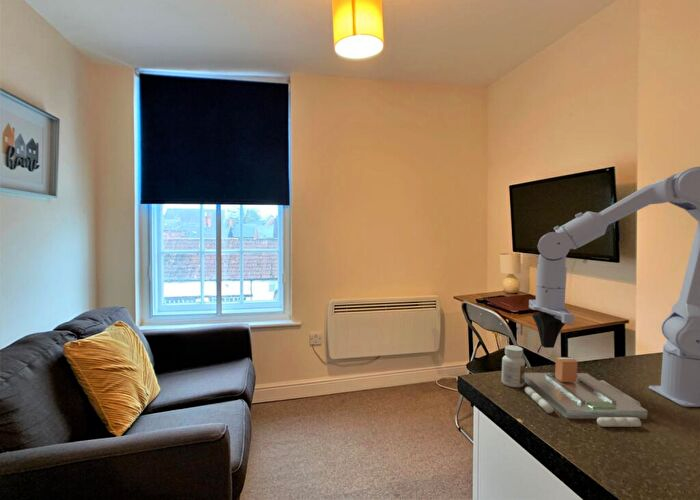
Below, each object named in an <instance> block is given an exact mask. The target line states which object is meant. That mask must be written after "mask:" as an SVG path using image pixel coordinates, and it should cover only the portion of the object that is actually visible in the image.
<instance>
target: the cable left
mask: <svg viewBox="0 0 700 500" xmlns="http://www.w3.org/2000/svg"><path fill="white" fill-rule="evenodd" d="M596 423H597V424H598V425H599V426H600V427H603V428H604V427H606V428H607V427H609V428H610V427H611V428H612V427H615V428H616V427H617V428H622V427H623V428H624V427H625V428H627V427H628V428H631V427H633V428H634V427H635V428H639V427H641V426H642V421H641V419H638V418H632V417H599V418H598V419H596Z"/></svg>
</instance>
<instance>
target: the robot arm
mask: <svg viewBox="0 0 700 500" xmlns="http://www.w3.org/2000/svg"><path fill="white" fill-rule="evenodd" d="M665 203H670V204H671V205H674V206H676V207H677V208H680V209H683V210H684V211H685V212H687V214H689V215H690V216H691V217H692V218H693V219H695V220H696V222H697V225H696V230H695V234H694V238H693V242H692V245H691V250H690V253H689V258H688V261H687V264H686V265H687V266H686V269H685V270H686V271H685V273H684V278H683V282H682V285H681V290H680V293H679V299H678V300H677V302H676V303H675V304H673V306H672V307H671V311H670V314H669V315H668V316H667V317H666V318H665V319H664V320H663V322H662V323H661V327H660V328H661V329H660V330H661V333H662V335H663V336H664V338H665V339H666V342H665V344H664V345H663V346H662V349H663V350H662V359H661V360H662V361H661V362H662V363H661V373H660V374H661V376H660V385H649V386H648V389H650V390H651V391H653V392H655V393H657V394H659V395H661V396H663V397H664V398H667V399H668V400H670V401H672V402H674V403H675V404H677V405H679V406H682V407H687V408H688V407H689V408H691V407H693V408H694V407H696V408H698V407H699V408H700V166H692V167H690V168H687V169H685V170H683V171H682V172H678V173H675V174H672V175H670V176H669V177H666V178H664V179H661V180H657V181H656V182H653V183H649V184H647V185H645V186H643V187H641V188H639V189H638V190H636V191H635V192H632V193H630V194H629V195H628V196H626V197H624V198H622V199H621V200H618V201H617V202H615V203H613V204H612V205H610V206H608V207H606V208H605V209H603V210H601V211H599V212H593V211H585V212H584V213H582V212H579V213H576V214H575V215H574V216H575V217H574V218H573V219H571V220H570V221H568V222H566V223H565V224H562V225H561V226H559V225H556V226H555V227H553V230H554V231H552V232H547V233H546V234H544V235H543V236H541V237H540V239H539V240H538V244H537V250H538V252H539V255H538V257H537V263H538V264H537V266H536V280H535V281H536V282H535V283H536V284H535V285H536V287H535V299H529V300H528V308H530V309H531V310H533V311H538V312H537V313H532V319H533V320H534V322H535V325H536V327H537V332H538V335H539V339H540V345H541V346H542V347H543V348H546V349H548V348H549V349H553V348H554V347H555V345H556V342H557V339H558V336H559V334H560V333H561V330H562V329H563V327H564V326H565V325H566V324H574V323H575V314H574V313H573V312H571V311H569V310H568V309H567V308H566V307H565V306H566V305H565V303H566V289H567V287H566V285H567V269H568V268H567V266H566V265H567V264H566V261H567V260H566V259H567V255H568V253H569V252H570V250H572V249H573V250H577V249H578V248H580V247H583V246H585V245H586V244H588V243H590V242H593V241H594V240H597V239H598V238H600V237H602V236H604V235H605V234H606V232H607V229H608V226H609V225H612V223H615V222H617V221H619V220H621V219H623V218H625V217H628V216H630V215H632V214H633V213H635V212H637V211H639V210H642V209H644V208H646V207H648V206H650V205H658V204H660V205H661V204H665Z"/></svg>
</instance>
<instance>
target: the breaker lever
mask: <svg viewBox="0 0 700 500" xmlns="http://www.w3.org/2000/svg"><path fill="white" fill-rule="evenodd" d="M554 368H555V370H554V371H555V377H556V378H557V379H559V380H560V381H561V382H577V373H578V361H577V360H576V359H575V358H573V357H570V356H569V357H568V356H567V357H566V356H564V357H563V356H556V357H555V367H554Z"/></svg>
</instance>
